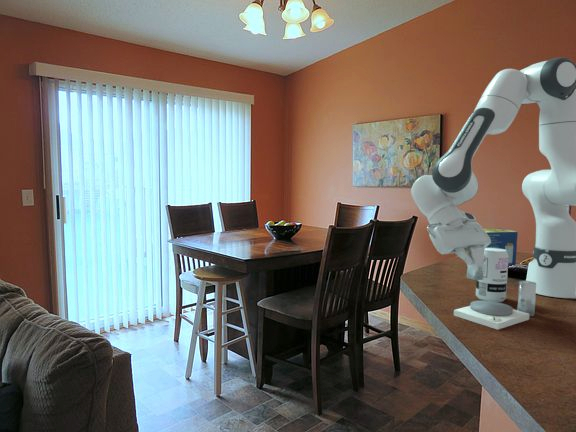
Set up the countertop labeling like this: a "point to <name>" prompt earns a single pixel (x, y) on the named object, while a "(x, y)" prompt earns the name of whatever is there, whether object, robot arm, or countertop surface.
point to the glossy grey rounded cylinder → (476, 263)
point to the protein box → (504, 242)
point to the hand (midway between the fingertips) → (477, 262)
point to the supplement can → (493, 276)
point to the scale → (491, 314)
